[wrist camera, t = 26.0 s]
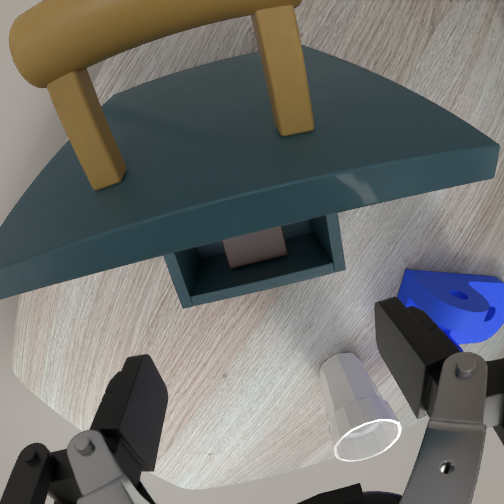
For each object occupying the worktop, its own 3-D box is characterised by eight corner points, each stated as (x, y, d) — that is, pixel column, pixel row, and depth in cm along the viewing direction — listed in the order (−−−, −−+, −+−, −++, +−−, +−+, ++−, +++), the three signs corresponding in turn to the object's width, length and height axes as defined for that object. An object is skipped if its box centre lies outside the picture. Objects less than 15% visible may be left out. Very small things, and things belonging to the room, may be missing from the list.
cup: (363, 338, 33) (401, 408, 23) (370, 378, 35) (401, 445, 25) (306, 358, 34) (327, 435, 23) (318, 396, 36) (338, 468, 26)
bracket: (384, 337, 33) (416, 389, 25) (405, 269, 31) (451, 312, 22) (488, 332, 35) (524, 369, 26) (510, 277, 32) (553, 309, 23)
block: (231, 249, 28) (230, 269, 24) (217, 201, 27) (213, 213, 23) (280, 236, 28) (288, 254, 24) (268, 187, 27) (274, 197, 22)
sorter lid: (494, 179, 5) (494, -68, 2) (-14, 304, 6) (-123, 129, 2) (303, 56, 17) (288, -20, 13) (117, 106, 17) (91, 34, 14)
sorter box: (320, 236, 29) (345, 270, 22) (195, 266, 30) (182, 308, 22) (284, 74, 24) (301, 52, 17) (150, 109, 25) (117, 101, 17)
